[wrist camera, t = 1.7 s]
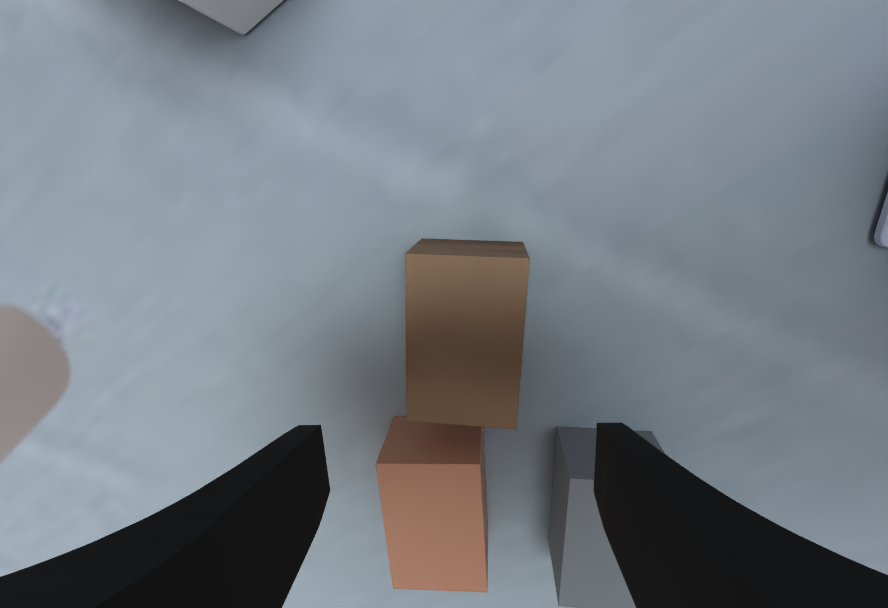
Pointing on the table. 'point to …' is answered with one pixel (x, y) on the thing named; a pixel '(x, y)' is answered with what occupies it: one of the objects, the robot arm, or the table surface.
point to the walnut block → (465, 331)
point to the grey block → (582, 527)
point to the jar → (234, 11)
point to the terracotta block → (434, 505)
